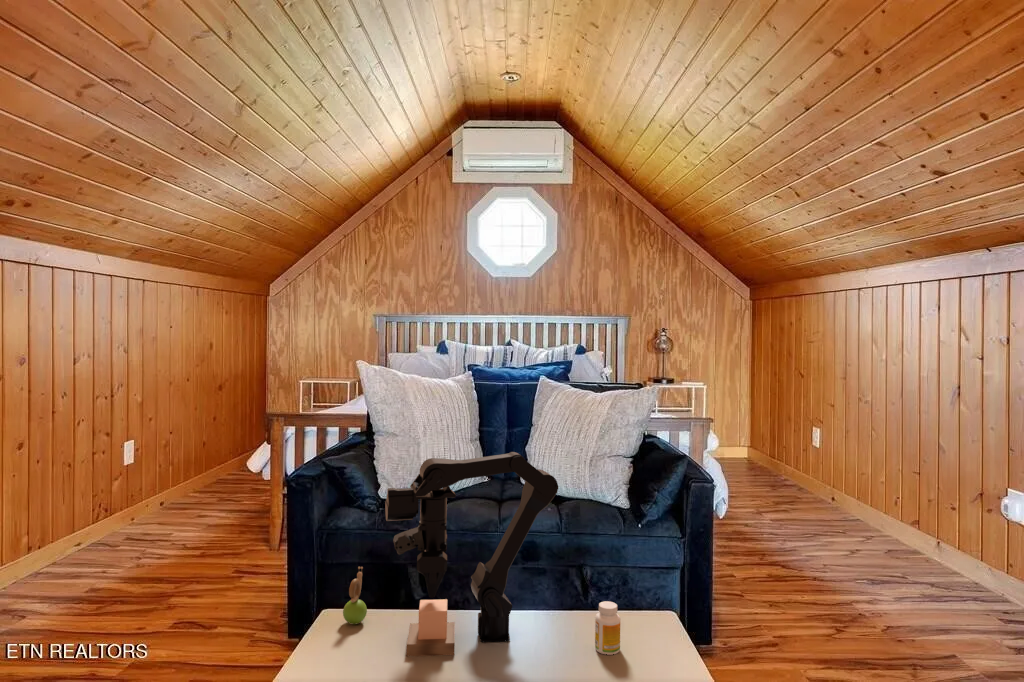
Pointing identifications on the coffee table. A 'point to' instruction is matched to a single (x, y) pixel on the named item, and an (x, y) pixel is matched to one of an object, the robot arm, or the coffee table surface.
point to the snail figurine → (355, 602)
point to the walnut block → (430, 642)
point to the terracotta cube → (432, 619)
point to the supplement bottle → (607, 629)
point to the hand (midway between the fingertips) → (432, 588)
